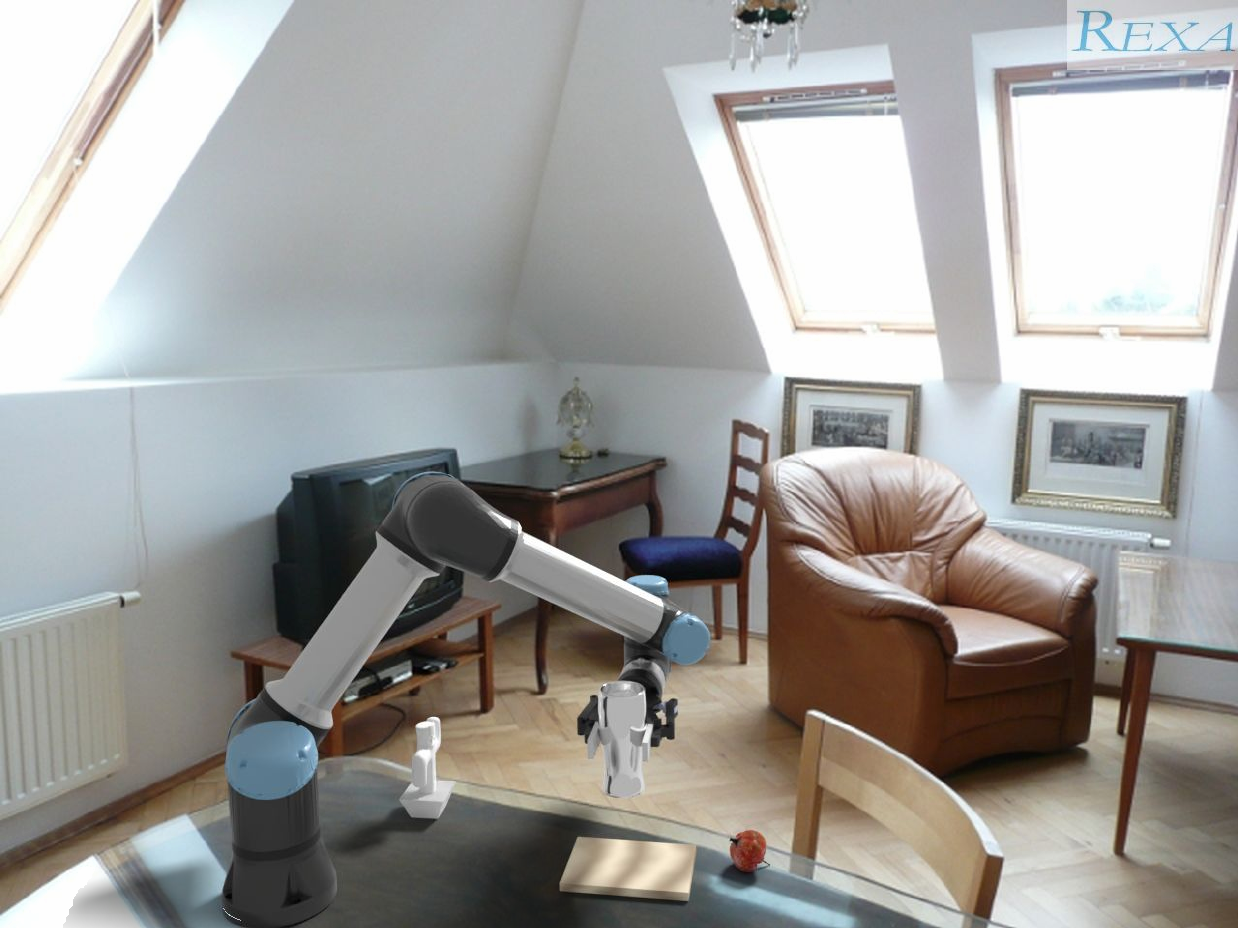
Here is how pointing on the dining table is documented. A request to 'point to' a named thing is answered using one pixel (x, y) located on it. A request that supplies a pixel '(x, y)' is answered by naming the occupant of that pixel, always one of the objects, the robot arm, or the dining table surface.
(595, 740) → the robot arm
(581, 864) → the birch board
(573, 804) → the dining table surface
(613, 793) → the beer glass
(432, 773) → the figurine
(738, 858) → the pomegranate
